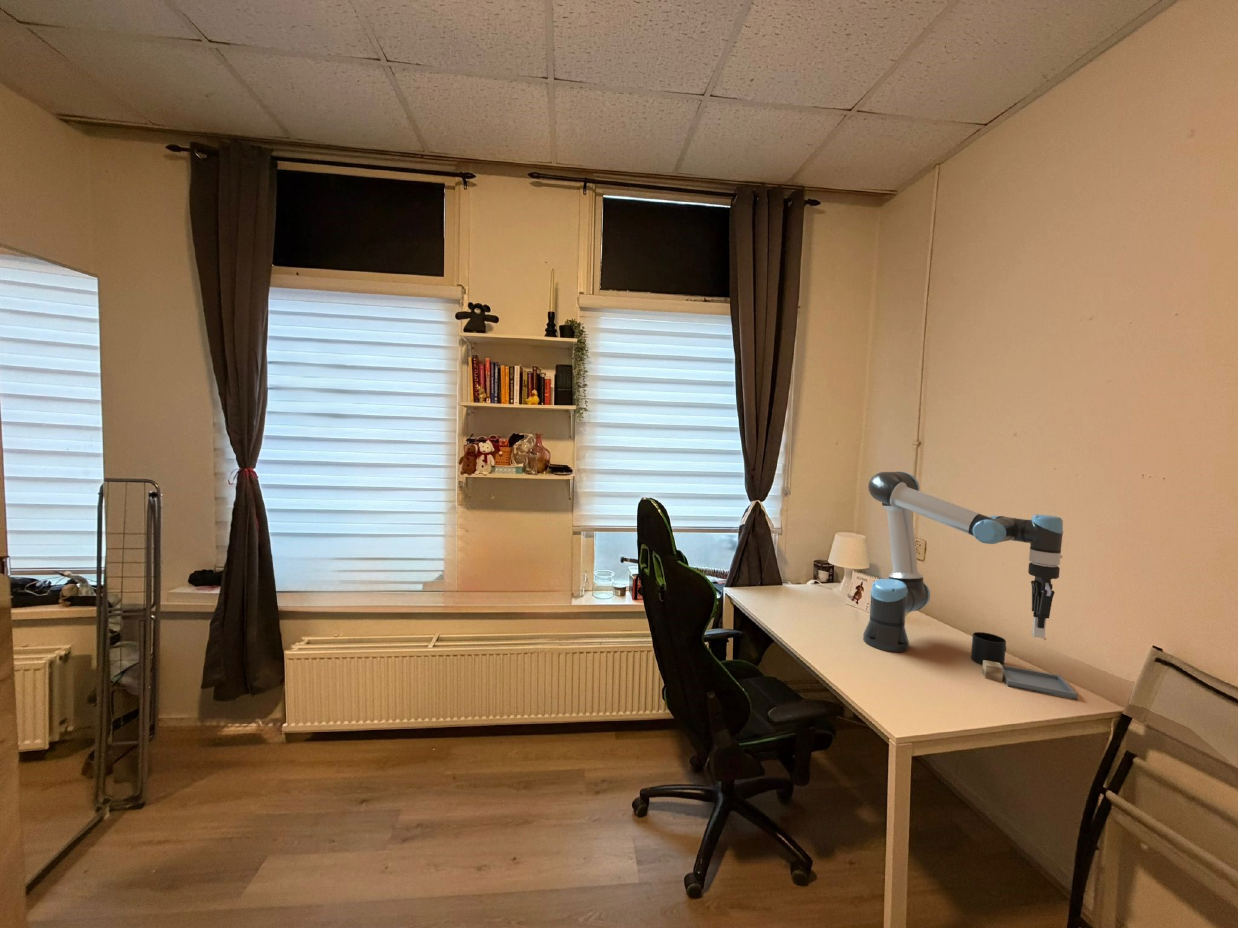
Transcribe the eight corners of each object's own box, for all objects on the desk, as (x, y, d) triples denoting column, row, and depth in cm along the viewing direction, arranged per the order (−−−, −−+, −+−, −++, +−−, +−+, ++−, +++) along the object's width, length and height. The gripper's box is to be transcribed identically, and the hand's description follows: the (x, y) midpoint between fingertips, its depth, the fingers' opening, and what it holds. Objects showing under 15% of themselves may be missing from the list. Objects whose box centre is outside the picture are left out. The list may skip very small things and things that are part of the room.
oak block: (985, 678, 164) (986, 664, 163) (982, 672, 168) (983, 659, 167) (1002, 681, 162) (1003, 668, 161) (998, 676, 166) (999, 662, 166)
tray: (1007, 686, 158) (1008, 680, 158) (996, 668, 171) (996, 663, 171) (1077, 700, 151) (1077, 694, 151) (1059, 680, 164) (1060, 675, 164)
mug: (1017, 667, 173) (1019, 641, 172) (987, 668, 171) (989, 642, 170) (992, 655, 182) (994, 631, 182) (964, 656, 180) (966, 632, 180)
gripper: (1067, 570, 152) (1060, 646, 153) (1051, 561, 164) (1046, 632, 165) (1036, 566, 155) (1030, 641, 156) (1023, 558, 167) (1017, 627, 168)
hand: (1038, 636), depth 160 cm, fingers closed
